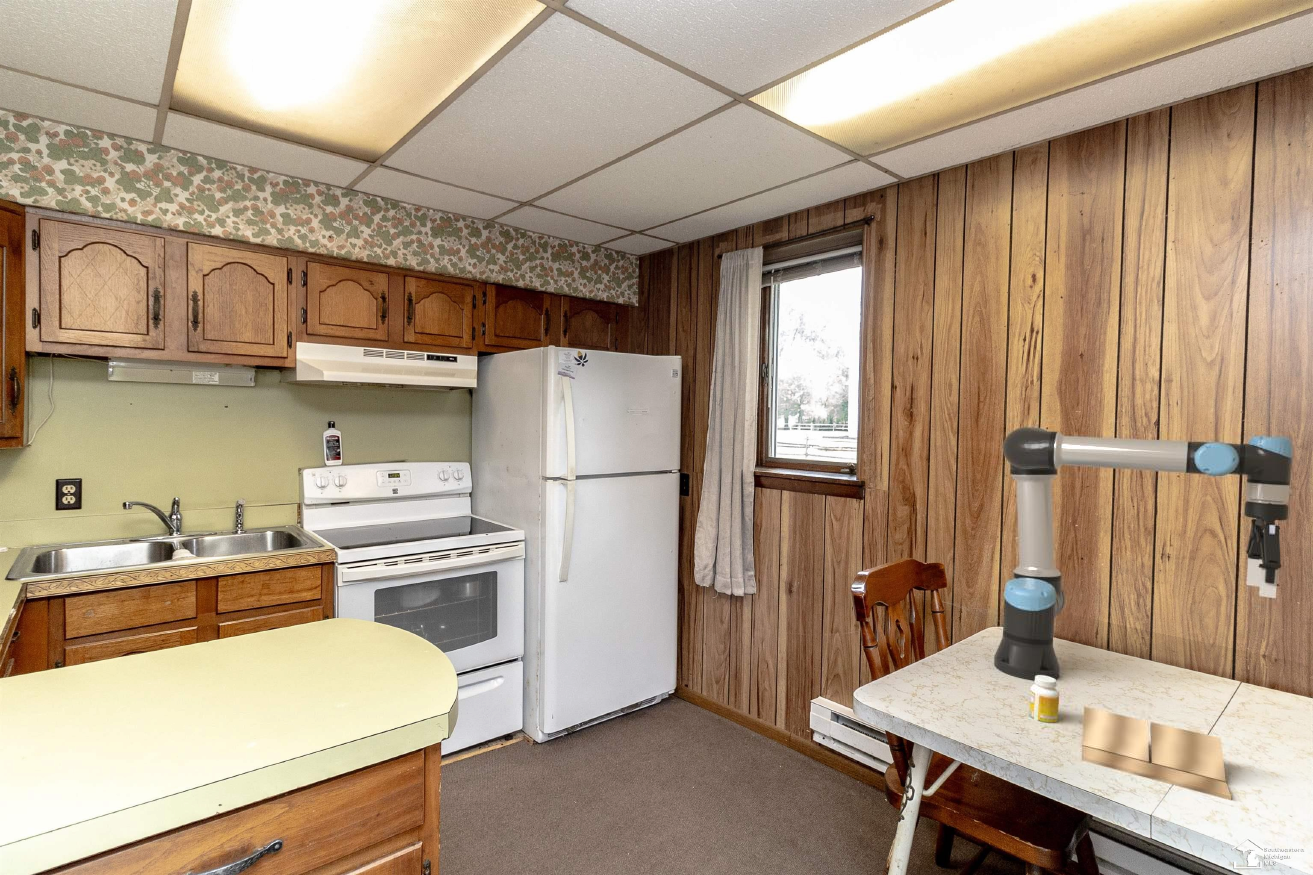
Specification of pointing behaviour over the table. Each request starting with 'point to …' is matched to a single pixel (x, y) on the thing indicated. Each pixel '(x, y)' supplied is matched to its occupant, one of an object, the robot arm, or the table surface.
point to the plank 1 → (1116, 734)
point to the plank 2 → (1187, 751)
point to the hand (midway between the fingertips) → (1260, 591)
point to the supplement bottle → (1044, 700)
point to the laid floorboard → (1156, 772)
